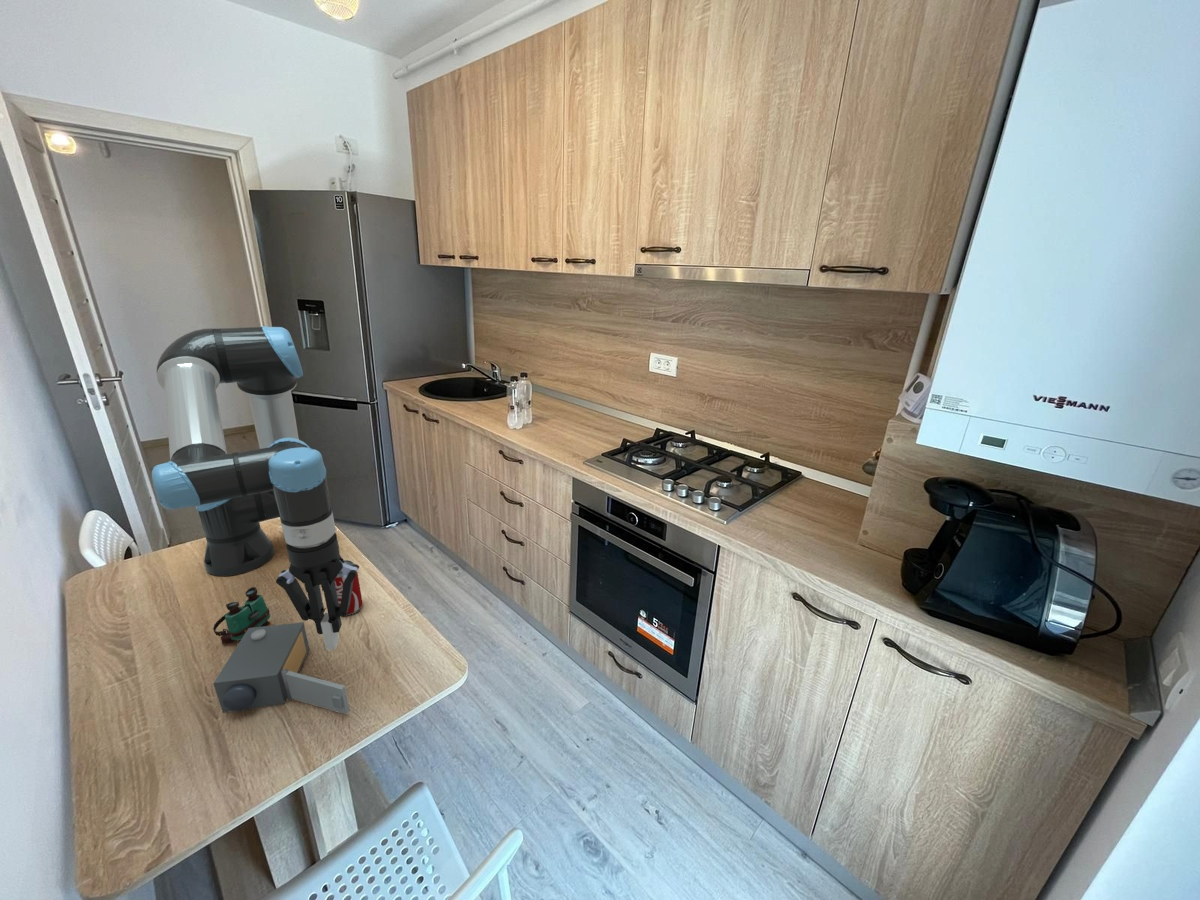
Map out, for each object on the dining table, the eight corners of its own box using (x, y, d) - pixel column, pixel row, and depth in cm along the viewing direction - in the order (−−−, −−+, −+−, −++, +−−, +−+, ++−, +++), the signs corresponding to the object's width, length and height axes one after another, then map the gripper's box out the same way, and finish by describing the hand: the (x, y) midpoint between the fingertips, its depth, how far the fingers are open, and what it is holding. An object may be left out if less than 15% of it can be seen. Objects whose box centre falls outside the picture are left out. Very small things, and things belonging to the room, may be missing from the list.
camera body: (256, 655, 100) (247, 624, 97) (310, 648, 102) (303, 618, 99) (218, 720, 86) (207, 687, 83) (282, 711, 88) (273, 678, 85)
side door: (350, 711, 88) (345, 684, 86) (344, 718, 87) (338, 691, 84) (291, 695, 91) (284, 668, 88) (284, 701, 89) (277, 674, 87)
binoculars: (230, 581, 107) (268, 584, 105) (245, 620, 110) (282, 624, 108) (191, 606, 98) (231, 611, 96) (208, 648, 102) (247, 653, 100)
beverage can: (368, 605, 115) (361, 562, 111) (347, 620, 110) (339, 576, 106) (351, 598, 117) (343, 556, 113) (329, 612, 112) (321, 569, 108)
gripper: (258, 553, 77) (286, 664, 86) (347, 546, 80) (365, 655, 89) (276, 528, 84) (301, 634, 93) (357, 523, 87) (374, 626, 96)
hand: (332, 644), depth 91 cm, fingers closed
